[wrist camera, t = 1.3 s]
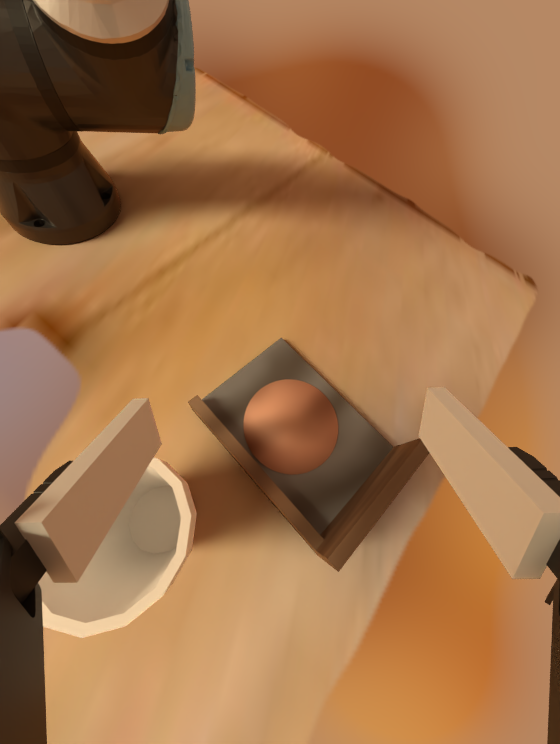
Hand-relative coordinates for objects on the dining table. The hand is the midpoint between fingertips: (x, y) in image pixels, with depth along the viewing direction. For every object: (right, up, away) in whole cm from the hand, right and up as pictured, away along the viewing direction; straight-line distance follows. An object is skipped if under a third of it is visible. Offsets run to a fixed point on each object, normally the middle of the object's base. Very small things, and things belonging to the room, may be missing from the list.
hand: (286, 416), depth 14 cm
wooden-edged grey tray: (+2, -5, +20) cm, 20 cm away
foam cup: (-12, -12, +15) cm, 23 cm away
